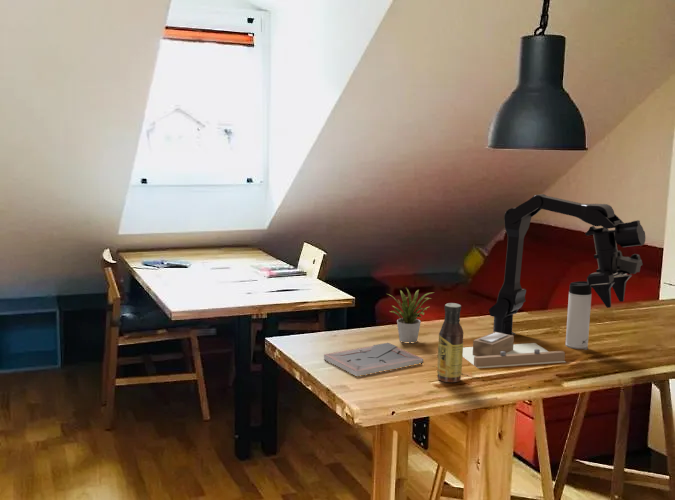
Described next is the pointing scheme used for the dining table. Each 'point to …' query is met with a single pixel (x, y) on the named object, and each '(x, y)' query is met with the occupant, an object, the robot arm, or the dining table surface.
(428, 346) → the dining table surface
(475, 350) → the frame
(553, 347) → the dining table surface
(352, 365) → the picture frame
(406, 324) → the house plant
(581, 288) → the travel mug
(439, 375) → the sauce bottle
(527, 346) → the wall board
